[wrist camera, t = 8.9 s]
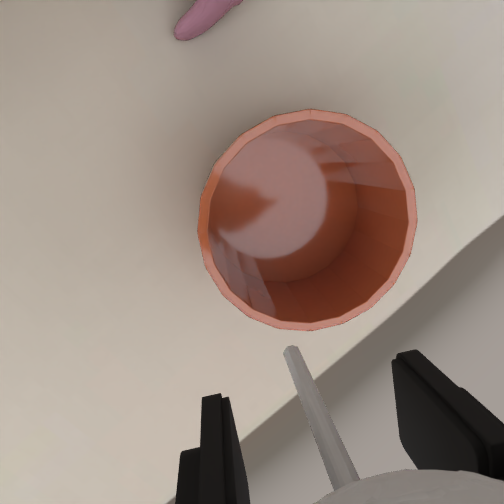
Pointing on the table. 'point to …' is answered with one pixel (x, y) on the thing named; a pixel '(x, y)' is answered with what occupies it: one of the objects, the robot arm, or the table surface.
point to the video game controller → (202, 17)
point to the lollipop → (388, 484)
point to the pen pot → (307, 220)
